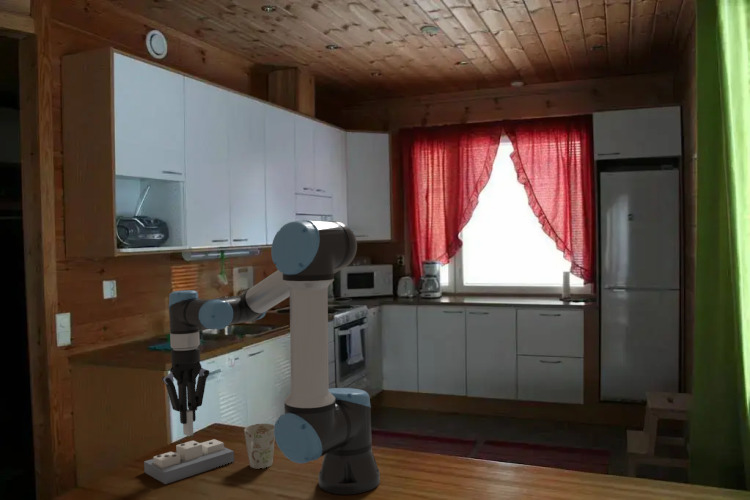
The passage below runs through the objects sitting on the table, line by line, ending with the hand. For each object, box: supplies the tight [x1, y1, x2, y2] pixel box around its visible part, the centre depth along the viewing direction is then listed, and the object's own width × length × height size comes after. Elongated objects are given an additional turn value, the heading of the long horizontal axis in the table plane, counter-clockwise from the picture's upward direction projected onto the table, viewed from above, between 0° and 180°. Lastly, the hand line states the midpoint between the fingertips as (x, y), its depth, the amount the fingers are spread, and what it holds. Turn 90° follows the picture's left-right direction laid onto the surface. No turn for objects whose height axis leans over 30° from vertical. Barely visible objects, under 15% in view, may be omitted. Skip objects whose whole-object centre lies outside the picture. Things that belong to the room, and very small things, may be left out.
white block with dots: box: [152, 451, 180, 469], centre depth 161 cm, size 5×5×4 cm
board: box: [143, 446, 235, 485], centre depth 165 cm, size 12×20×3 cm, turn 135°
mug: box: [243, 423, 276, 470], centre depth 163 cm, size 8×13×10 cm, turn 174°
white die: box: [175, 440, 203, 462], centre depth 165 cm, size 5×5×4 cm
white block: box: [199, 438, 225, 455], centre depth 170 cm, size 5×5×4 cm
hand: (188, 434), depth 165 cm, fingers closed
